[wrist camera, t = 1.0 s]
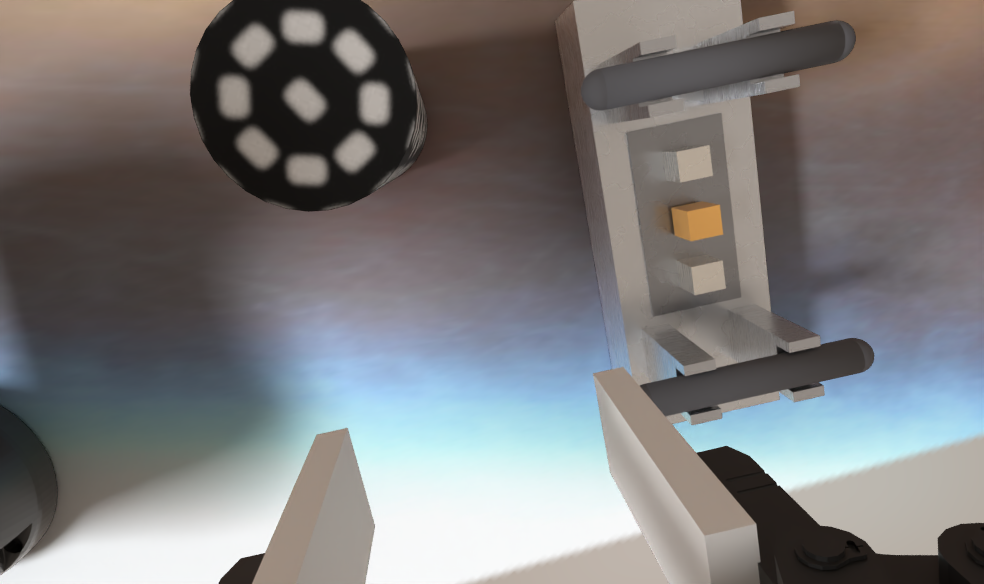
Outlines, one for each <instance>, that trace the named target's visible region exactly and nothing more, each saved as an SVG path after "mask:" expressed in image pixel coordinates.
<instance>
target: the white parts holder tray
mask: <svg viewBox="0 0 984 584" xmlns="http://www.w3.org/2000/svg"><path fill="white" fill-rule="evenodd" d="M793 24H795V16H794V11H790V12H786V13H781V14H776V15H771V16H766V17H761V18H757V19H755V20H753V21H750V22H748V23H745V24H743V20H742V10H741V0H576V1H573V2H572V3H571V4H570V5H569V6H568V7H567V9H566V10H565V11H564V12H563V13H562V14H561V15H560V16H559V17H558V19H557V20H556V21H555V27H556V33H557V39H558V45H559V51H560V57H561V63H562V69H563V75H564V81H565V87H566V93H567V100H568V106H569V112H570V118H571V124H572V130H573V136H574V142H575V148H576V154H577V160H578V166H579V172H580V178H581V184H582V191H583V197H584V203H585V209H586V215H587V221H588V227H589V233H590V239H591V245H592V251H593V257H594V263H595V269H596V276H597V282H598V288H599V294H600V300H601V306H602V312H603V318H604V324H605V330H606V336H607V342H608V348H609V354H610V360H611V367H612V369H616V368H620V367H624V368H625V370H626V371H627V372H628V373H629V374H630V375H631V377H632V378H633V379H634V380H635V381H636V383H637V384H638V385H639V386H640V385H642V384H646V383H650V382H655V381H659V380H664V379H668V378H673V377H677V376H682V375H684V376H688V375H693V374H697V373H702V372H706V371H711V370H715V369H716V368H718V367H722V366H727V365H731V364H736V363H740V362H745V361H749V360H754V359H758V358H763V357H767V356H772V355H776V354H781V353H785V352H789V353H791V352H796V351H800V350H805V349H809V348H814V347H818V346H821V345H820V336H819V335H817V334H815V333H813V332H811V331H809V330H807V329H805V328H803V327H801V326H799V325H796V324H794V323H792V322H790V321H788V320H786V319H784V318H782V317H780V316H778V315H776V314H774V313H772V312H771V306H770V296H769V286H768V276H767V265H766V255H765V245H764V235H763V225H762V214H761V204H760V194H759V184H758V173H757V163H756V153H755V143H754V132H753V122H752V112H751V102H750V96H755V95H761V94H766V93H771V92H776V91H781V90H786V89H791V88H795V87H800V79H799V74H798V75H793V76H788V77H784V73H782V74H778V75H773V76H768V77H763V78H758V79H753V80H749V81H744V82H739V83H734V84H729V85H724V86H720V87H715V88H710V89H705V90H700V91H695V92H690V93H686V94H681V95H676V96H671V97H666V98H661V99H657V100H652V101H647V102H642V103H637V104H632V105H628V106H623V107H618V108H613V109H608V110H602V111H599V110H594V109H591V108H590V107H588V106H587V105H586V104H585V102H584V101H583V98H582V95H581V86H582V83H583V81H584V79H585V77H586V76H587V75H588V74H589V73H590V72H592V71H594V70H596V69H600V68H605V67H610V66H615V65H620V64H625V63H629V62H634V61H639V60H644V59H649V58H654V57H659V56H664V55H669V54H673V53H678V52H683V51H688V50H693V49H698V48H703V47H708V46H713V45H717V44H722V43H727V42H732V41H737V40H742V39H747V38H752V37H757V36H762V35H766V34H771V33H776V32H780V29H782V28H784V27H787V26H790V25H793ZM701 201H703V202H708V203H714V204H719V205H720V210H721V219H722V228H723V235H718V236H714V237H709V238H704V239H700V240H695V241H688V240H686V239H683V238H680V237H677V236H675V233H674V225H673V218H672V210H671V208H672V207H677V206H682V205H686V204H691V203H696V202H701ZM779 392H780V393H782V394H783V395H785V396H786V397H787V398H789V399H790V400H792V401H793V402H797V401H802V400H806V399H811V398H815V397H819V396H824V385H822V384H820V383H819V382H817V383H813V384H808V385H804V386H799V387H795V388H790V389H786V390H781V391H777V392H772V393H768V394H764V395H759V396H755V397H750V398H746V399H741V400H737V401H732V402H728V403H724V404H719V405H715V406H710V407H706V408H701V409H697V410H692V411H688V412H683V413H679V414H675V415H670V416H666V418H667V419H668V420H669V421H670V423H671V424H674V423H679V422H683V421H688V422H689V423H690V424H691V425H695V424H700V423H704V422H709V421H713V420H717V419H722V413H723V412H727V411H732V410H736V409H741V408H745V407H750V406H754V405H758V404H763V403H767V402H772V401H776V400H780V399H779Z"/></svg>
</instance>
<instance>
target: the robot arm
mask: <svg viewBox="0 0 984 584" xmlns="http://www.w3.org/2000/svg"><path fill="white" fill-rule="evenodd" d="M593 376H594V382H595V388H596V393H597V399H598V405H599V411H600V417H601V422H602V428H603V434H604V440H605V445H606V451H607V457H608V463H609V469H610V473H611V475H612V477H613V479H614V481H615V482H616V484H617V486H618V488H619V490H620V492H621V494H622V496H623V498H624V499H625V501H626V503H627V505H628V507H629V509H630V511H631V513H632V515H633V516H634V518H635V520H636V522H637V524H638V526H639V528H640V530H641V532H642V534H643V535H644V537H645V539H646V541H647V543H648V545H649V547H650V549H651V551H652V552H653V554H654V556H655V558H656V560H657V562H658V564H659V566H660V568H661V569H662V571H663V573H664V575H665V577H666V579H667V581H668V583H669V584H984V523H971V524H960V525H957V526H954V527H951V528H948V529H946V530H945V531H944V532H943V533H942V534H941V535H940V536H939V537H938V555H883V554H876V553H875V552H874V551H873V550H872V549H871V547H870V546H869V545H868V544H867V543H866V542H865V541H863V540H862V539H860V538H858V537H857V536H855V535H853V534H852V533H850V532H847V531H843V530H840V529H836V528H833V527H828V526H820V525H819V524H818V523H817V522H816V521H815V520H813V518H812V517H811V516H810V515H809V514H807V512H806V511H805V510H803V509H802V507H800V506H799V505H798V504H797V503H796V502H795V501H794V500H793V499H792V498H791V497H790V496H789V495H788V494H787V493H786V492H785V491H784V490H783V489H782V488H781V487H780V486H777V483H776V482H775V481H774V480H773V479H772V478H771V477H770V476H769V475H768V474H765V472H764V470H763V469H762V468H761V467H760V466H759V465H758V464H757V463H756V462H755V461H754V460H753V459H752V458H751V457H750V456H748V455H746V454H744V453H741V452H739V451H737V450H735V449H733V448H730V447H728V446H724V447H720V448H716V449H711V450H707V451H702V452H698V453H696V452H695V451H694V450H693V449H692V447H691V446H690V445H689V444H688V443H687V442H686V440H685V439H684V438H683V437H682V436H681V434H680V433H679V432H678V431H677V430H676V429H675V427H674V426H673V425H672V424H671V423H670V421H669V420H668V419H667V418H666V417H665V416H664V414H663V413H662V412H661V411H660V410H659V409H658V407H657V406H656V405H655V404H654V403H653V401H652V400H651V399H650V398H649V397H648V396H647V394H646V393H645V392H644V391H643V390H642V388H641V387H640V386H639V385H638V384H637V383H636V381H635V380H634V379H633V378H632V377H631V375H630V374H629V373H628V372H627V371H626V370H625V368H624V367H620V368H616V369H611V370H607V371H602V372H598V373H593ZM56 503H57V483H56V477H55V472H54V469H53V466H52V463H51V460H50V458H49V456H48V454H47V452H46V450H45V448H44V447H43V445H42V444H41V442H40V441H39V439H38V438H37V437H36V435H35V434H34V433H33V432H32V431H31V430H30V429H29V428H28V427H27V426H26V425H25V424H24V423H23V422H22V421H21V420H20V419H19V418H17V417H16V416H15V415H14V414H12V413H11V412H9V411H8V410H6V409H5V408H3V407H2V406H0V575H2V574H3V573H5V572H6V571H7V570H9V569H10V568H12V567H13V566H14V565H15V564H16V563H17V562H18V561H20V560H21V559H22V558H23V557H24V556H25V555H26V554H27V553H28V552H29V551H30V550H31V549H32V548H33V547H34V546H35V545H36V544H37V543H38V542H39V541H40V539H41V538H42V537H43V535H44V534H45V533H46V531H47V529H48V527H49V525H50V523H51V521H52V518H53V516H54V512H55V508H56ZM374 529H375V524H374V521H373V517H372V514H371V510H370V506H369V503H368V499H367V496H366V492H365V488H364V485H363V481H362V478H361V474H360V471H359V467H358V463H357V460H356V456H355V453H354V449H353V446H352V442H351V438H350V435H349V431H348V428H345V429H341V430H336V431H332V432H327V433H323V434H318V435H316V437H315V439H314V442H313V444H312V446H311V449H310V451H309V453H308V456H307V458H306V460H305V463H304V465H303V467H302V470H301V472H300V474H299V476H298V479H297V481H296V483H295V486H294V488H293V490H292V493H291V495H290V497H289V500H288V502H287V504H286V506H285V509H284V511H283V513H282V516H281V518H280V520H279V523H278V525H277V527H276V530H275V532H274V534H273V536H272V539H271V541H270V543H269V546H268V548H267V550H266V553H263V554H259V555H254V556H250V557H245V558H241V559H240V560H239V561H238V562H237V563H236V564H235V565H234V566H233V567H232V568H231V569H230V570H229V571H228V572H227V573H226V574H225V575H224V576H223V577H222V578H221V580H220V582H219V584H365V581H366V575H367V569H368V564H369V558H370V552H371V546H372V540H373V535H374Z"/></svg>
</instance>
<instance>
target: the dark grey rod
mask: <svg viewBox="0 0 984 584" xmlns="http://www.w3.org/2000/svg"><path fill="white" fill-rule="evenodd" d="M855 41H856V35H855V32H854V29H853V28H852V27H851V26H850V25H849V24H848V23H846V22H844V21H830V22H825V23H820V24H815V25H810V26H806V27H801V28H796V29H791V30H786V31H781V32H776V33H771V34H766V35H762V36H757V37H752V38H747V39H742V40H737V41H732V42H727V43H722V44H717V45H713V46H708V47H703V48H698V49H693V50H688V51H683V52H678V53H673V54H669V55H664V56H659V57H654V58H649V59H644V60H639V61H634V62H629V63H625V64H620V65H615V66H610V67H605V68H600V69H596V70H594V71H592V72H590V73H589V74H588V75H587V76H586V77H585V79H584V81H583V83H582V86H581V95H582V98H583V101H584V102H585V104H586V105H587V106H588V107H590V108H591V109H594V110H599V111H602V110H608V109H613V108H618V107H623V106H628V105H632V104H637V103H642V102H647V101H652V100H657V99H661V98H666V97H671V96H676V95H681V94H686V93H690V92H695V91H700V90H705V89H710V88H715V87H720V86H724V85H729V84H734V83H739V82H744V81H749V80H753V79H758V78H763V77H768V76H773V75H778V74H782V73H787V72H792V71H797V70H802V69H807V68H811V67H816V66H821V65H826V64H831V63H835V62H838V61H841V60H842V59H844V58H845V57H847V56H848V55H849V54H850V52H851V51H852V49H853V48H854V45H855Z"/></svg>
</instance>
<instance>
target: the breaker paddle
mask: <svg viewBox="0 0 984 584" xmlns="http://www.w3.org/2000/svg"><path fill="white" fill-rule="evenodd" d="M671 210H672V218H673V225H674V233H675V236H677V237H680V238H683V239H686V240H688V241H695V240H700V239H704V238H709V237H714V236H718V235H723V228H722V219H721V210H720V205H719V204H714V203H708V202H703V201H701V202H696V203H691V204H686V205H682V206H677V207H672V208H671Z"/></svg>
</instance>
